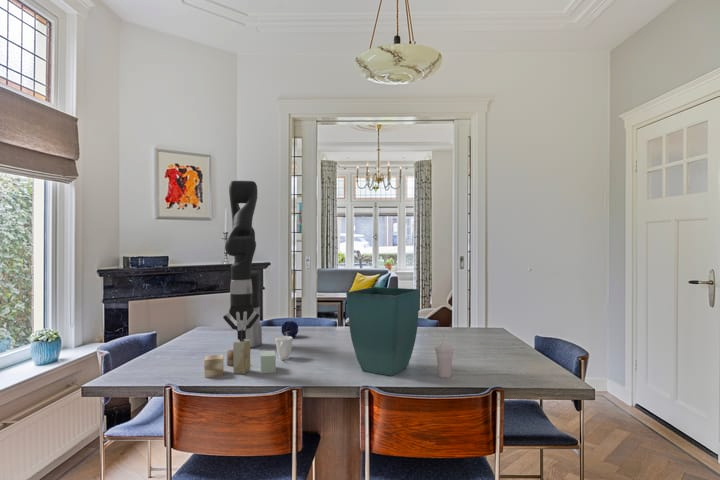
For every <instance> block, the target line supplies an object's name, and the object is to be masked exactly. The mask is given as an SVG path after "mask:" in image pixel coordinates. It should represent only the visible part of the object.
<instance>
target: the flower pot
mask: <svg viewBox="0 0 720 480" xmlns="http://www.w3.org/2000/svg"><path fill="white" fill-rule="evenodd" d="M345 294H346V303H347V313H348V314H347V315H348V325H349V333H350V339H351V342H352V343H351V344H352V346H353V350H354V353H355V356H356V359H357V362H358V364H359V367H360V369H361V371H362V372H368V373H374V374H378V375H386V376H394V375H396V374H398V373H400V372H401V371H402V370H404V369H406V368H407V367H408V366H409V363H410V360H411V358H412V354H413V350H414V347H415V343H416V339H417V333H418V327H419V312H420V311H419V308H420V294H421V290H420V289H417V288H405V287H404V288H401V287H385V286H384V287H383V286H373V287H372V286H371V287H367V288H362V289H357V290H352V291H347V292H345Z"/></svg>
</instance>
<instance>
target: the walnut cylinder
mask: <svg viewBox="0 0 720 480" xmlns="http://www.w3.org/2000/svg"><path fill="white" fill-rule="evenodd" d="M226 365H227V367H233V349H229V350H227V352H226Z"/></svg>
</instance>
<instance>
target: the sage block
mask: <svg viewBox="0 0 720 480" xmlns="http://www.w3.org/2000/svg"><path fill="white" fill-rule="evenodd" d="M259 354H260V355H259V359H260V360H259V363H260V374H267V373H269V374H270V373H271V374H272V373H277V372H276V369H277V367H276V365H277V364H276V363H277V362H276V359H277V358H276V353H275V350H267V351H265V350H264V351H260V352H259Z"/></svg>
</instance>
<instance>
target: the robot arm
mask: <svg viewBox="0 0 720 480" xmlns="http://www.w3.org/2000/svg"><path fill="white" fill-rule="evenodd" d="M228 186H229V187H228V193H229V194H228V195H229V203H230V210H231V211H230V212H231V222H232V223H231V225H232V228H231V231H230V233H229V234H228V236H227V238H226V240H225V244H224V249H225V250H224V251H225V253H227V255H228V256H231V257H233V258H234V263H232V264H231V265H230V289H229V293H230V295H229V296H230V297H229V299H230V302H229V303H230V307H229V310H228V313H226V314H224V315H223V320H224V321H225V322H226V323H227V325H229V326H230V328H231V329H232V330H236V332H237V340H240V341H244V340H250V349H251V348H257V347H259V346H261V345H263V332H262V331H263V330H262V329H263V327H262V326H263V325H262V323H261V319H260V318H261V317H260V316H261V314H260V311H261V309H260V308H261V307H260V289H261V275H260V272H258V271H256V270H255V271H252V264H253V258H254V255H255V253H256V249H257V242H256V233H255V232H256V231H255V229H254V228H253V217H254V214H255V210H256V206H257V200H258V185H257V183H256V182H255V181H254V180H231V181H229V185H228ZM240 204H244V205H243V206H242V207H240ZM231 318H233V320H234V321H236V324H235V323H234V322H233V321H232V319H231Z"/></svg>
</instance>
